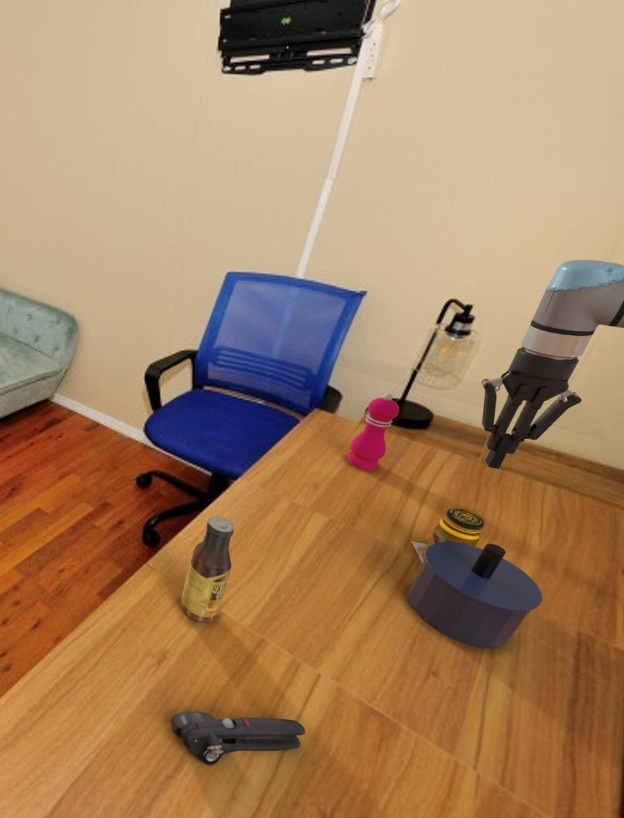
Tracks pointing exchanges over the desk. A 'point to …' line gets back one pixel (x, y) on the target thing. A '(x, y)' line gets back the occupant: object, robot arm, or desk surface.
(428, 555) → the pot lid
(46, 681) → the desk surface
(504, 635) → the pot
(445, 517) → the condiment
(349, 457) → the pepper mill
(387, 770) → the desk surface
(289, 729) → the can opener
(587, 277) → the robot arm
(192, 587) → the sauce bottle
